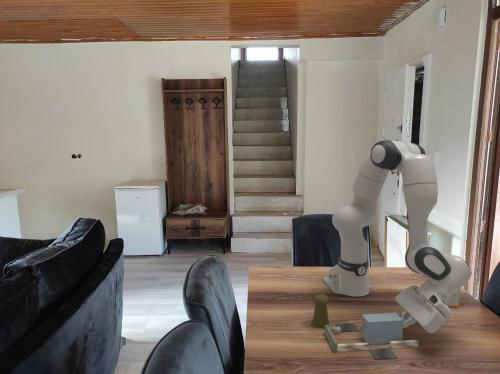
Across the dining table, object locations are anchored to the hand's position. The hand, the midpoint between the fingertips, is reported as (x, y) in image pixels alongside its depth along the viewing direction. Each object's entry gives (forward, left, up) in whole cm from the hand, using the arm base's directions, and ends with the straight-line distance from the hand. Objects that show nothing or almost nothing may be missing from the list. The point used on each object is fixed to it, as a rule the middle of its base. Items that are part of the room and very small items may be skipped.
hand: (400, 325), depth 122 cm
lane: (-3, -10, -5) cm, 12 cm away
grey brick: (-2, -6, -5) cm, 8 cm away
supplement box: (-13, +37, -5) cm, 40 cm away
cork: (-17, -21, -5) cm, 28 cm away
